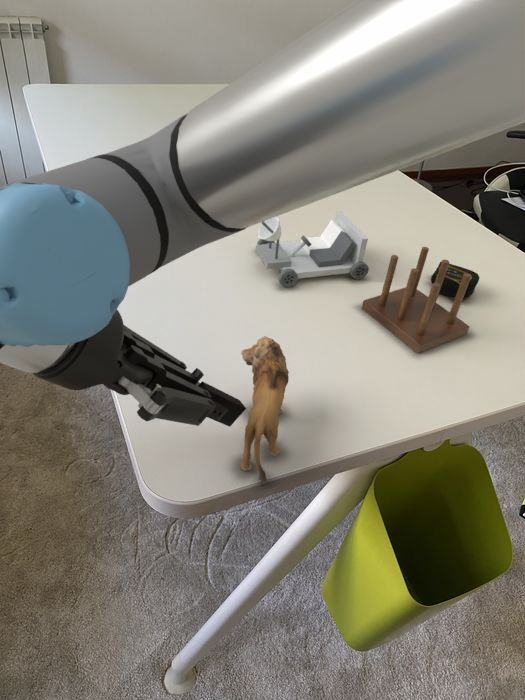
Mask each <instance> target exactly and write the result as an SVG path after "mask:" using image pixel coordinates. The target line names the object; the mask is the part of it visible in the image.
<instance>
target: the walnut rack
mask: <svg viewBox="0 0 525 700" xmlns="http://www.w3.org/2000/svg"><path fill="white" fill-rule="evenodd" d="M429 249H430V248H429V247H427V246H422V247H421V250H420V254H419V257H418V261H417V262H416V263H417V264H416V267H415V268H411V269H410V271H409V276H408V279H407V282H406V285H405V287H403V288H399V289H396V290H393V291H390V290H391V287H392V284H393V279H394V275H395V272H396V269H397V265H398V261H399V256H398V255H396V254H392V255H391V256H390V259H389V263H388V267H387V271H386V275H385V279H384V282H383V286H382V290H381V294H380V295H376V296H373V297H370V298H366V299H364V300H363V302H362V305H361V309H362V310H363V311H364V312H365V313H367V314H368V315H369V316H370V317H372V318H373V319H374V320H375V321H377V322H378V323H379V324H380V325H382V326H383V327H384V328H385V329H386V330H388V331H389V332H390V333H391V334H392V335H394V336H395V337H396V338H398V339H399V340H400V341H401V342H402V343H404V344H405V345H406V346H407V347H409V348H410V349H411V350H412V351H414V352H415V354H421V353H422V352H425V351H427V350H430V349H433V348H436V347H439V346H441V345H443V344H446V343H448V342H451V341H453V340H456V339H460V338H462V337H464V336H466V335H467V334H468V332H469V330H470V328H471V327H470V325H468V324H467V323H466V322H464V321H463V320H461V319H460V318H459V317H457V316H458V312H459V310H460V308H461V305H462V302H463V300H464V299H463V297H464V294H465V292H466V289H467V286H468V284H469V281H470V278H471V275H470V274H468V273H465V274H464V275H463V278H462V281H461V283H460V286H459V289H458V292H457V294H456V297H455V299H454V301H453V303H452V305H451V308H450V311H449V310H447V308H445V307H443V306H442V305H440V304H439V303H437V300H438V297H439V295H440V294H439V292H440V289H441V286H442V283H443V280H444V277H445V274H446V271H447V268H448V265H449V264H450V261H449V260H448V259H442V260H441V261H442V263H441V266H440V269H439V272H438V275H437V278H436V281H435V283H433V284H432V283H431V288H430V291H429V294H428V296H427V295H426V294H424V293H423V292H422V291H420V290H419V289H418V286H419V284H420V283H419V282H420V280H421V277H422V275H423V274H422V273H423V270H424V267H425V263H426V262H427V261H426V260H427V258H428V254H429Z"/></svg>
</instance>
